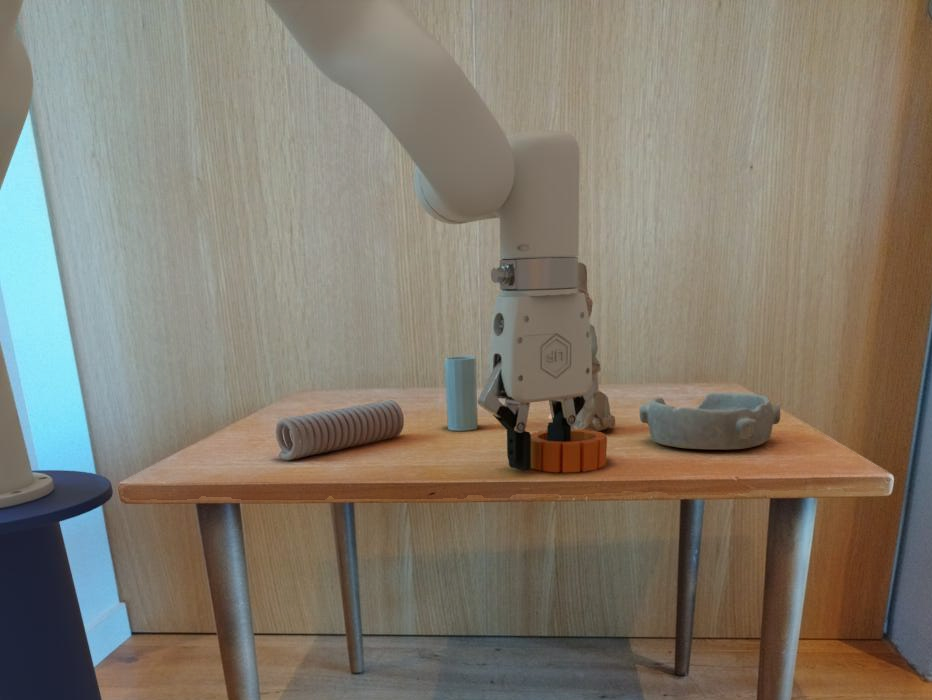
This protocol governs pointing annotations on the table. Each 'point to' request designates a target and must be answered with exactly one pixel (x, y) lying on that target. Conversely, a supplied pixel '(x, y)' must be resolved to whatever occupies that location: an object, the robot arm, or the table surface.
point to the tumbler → (461, 393)
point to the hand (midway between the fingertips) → (539, 463)
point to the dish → (713, 422)
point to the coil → (338, 429)
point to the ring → (569, 452)
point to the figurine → (597, 407)
